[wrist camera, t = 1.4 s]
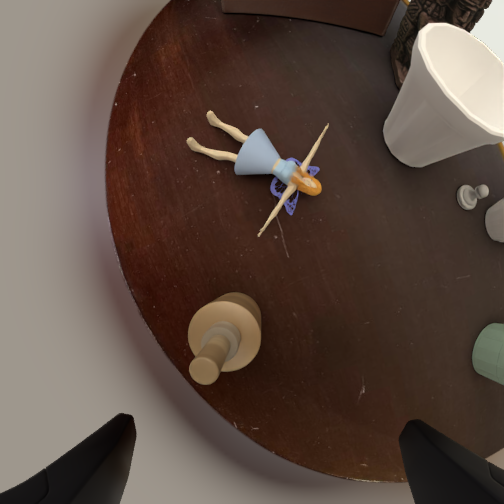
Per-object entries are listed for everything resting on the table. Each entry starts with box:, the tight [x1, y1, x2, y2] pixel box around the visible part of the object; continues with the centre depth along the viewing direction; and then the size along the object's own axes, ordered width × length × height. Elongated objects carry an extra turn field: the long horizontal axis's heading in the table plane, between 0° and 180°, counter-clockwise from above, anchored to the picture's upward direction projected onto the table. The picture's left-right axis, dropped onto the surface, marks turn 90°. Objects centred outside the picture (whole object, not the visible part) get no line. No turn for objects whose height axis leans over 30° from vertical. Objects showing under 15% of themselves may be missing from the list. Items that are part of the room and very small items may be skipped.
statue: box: [390, 0, 492, 90], centre depth 17 cm, size 7×7×20 cm
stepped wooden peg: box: [189, 321, 241, 385], centre depth 14 cm, size 2×2×6 cm
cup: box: [383, 23, 504, 167], centre depth 20 cm, size 10×10×13 cm
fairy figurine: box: [187, 111, 329, 237], centre depth 24 cm, size 12×5×12 cm
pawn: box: [457, 185, 489, 210], centre depth 23 cm, size 3×3×4 cm
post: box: [188, 292, 261, 372], centre depth 22 cm, size 4×4×8 cm
